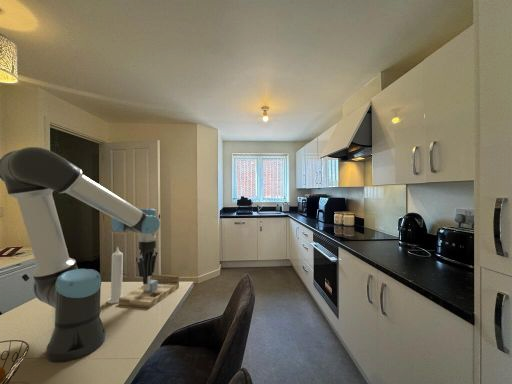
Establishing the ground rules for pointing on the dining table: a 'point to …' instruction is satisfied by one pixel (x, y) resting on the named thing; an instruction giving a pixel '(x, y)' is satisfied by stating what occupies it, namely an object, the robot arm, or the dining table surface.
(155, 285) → the block
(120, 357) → the dining table surface
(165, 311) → the dining table surface
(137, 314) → the dining table surface
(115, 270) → the candle
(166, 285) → the board
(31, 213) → the robot arm
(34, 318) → the dining table surface
